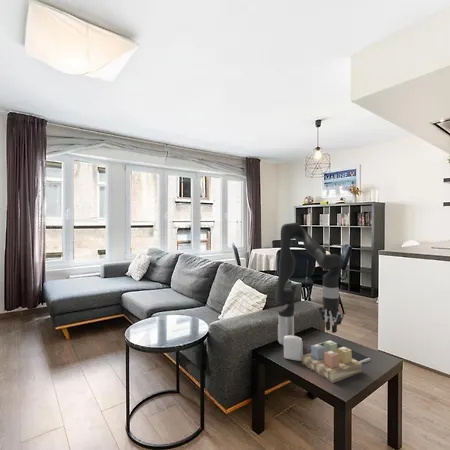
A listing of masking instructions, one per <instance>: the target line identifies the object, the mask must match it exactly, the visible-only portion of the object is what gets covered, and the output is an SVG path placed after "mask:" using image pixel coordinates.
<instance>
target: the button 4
mask: <svg viewBox="0 0 450 450" xmlns="http://www.w3.org/2000/svg"><path fill="white" fill-rule="evenodd" d="M350 349H351V348H349V349H348V347H347V348H346V346H345V347H341V348H337V350H338V354H339V361H340V362H342V363H344V364H348V363H351V362H352V350H353V349H351V350H350Z"/></svg>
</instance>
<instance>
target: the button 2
mask: <svg viewBox="0 0 450 450" xmlns="http://www.w3.org/2000/svg"><path fill="white" fill-rule="evenodd" d="M333 341H334V340H326V341H323V342H324V352H328V351H333V352H335V353H337V343H338V342H336V341H334V342H333ZM335 342H336V343H335Z"/></svg>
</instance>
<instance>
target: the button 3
mask: <svg viewBox="0 0 450 450" xmlns="http://www.w3.org/2000/svg"><path fill="white" fill-rule="evenodd" d="M324 361H325V365H326V366H328V367H329V368H331V369H333V368H336V367H339V354H337V353H335V352H333V351H328V352H324Z"/></svg>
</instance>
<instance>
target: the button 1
mask: <svg viewBox="0 0 450 450" xmlns="http://www.w3.org/2000/svg"><path fill="white" fill-rule="evenodd" d="M319 344H320V343H316V344H312V345H310V353H311V357H312V358H314V359H315V360H317V361H319V360H322V359H324V347H323V346H321V345H319Z"/></svg>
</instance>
